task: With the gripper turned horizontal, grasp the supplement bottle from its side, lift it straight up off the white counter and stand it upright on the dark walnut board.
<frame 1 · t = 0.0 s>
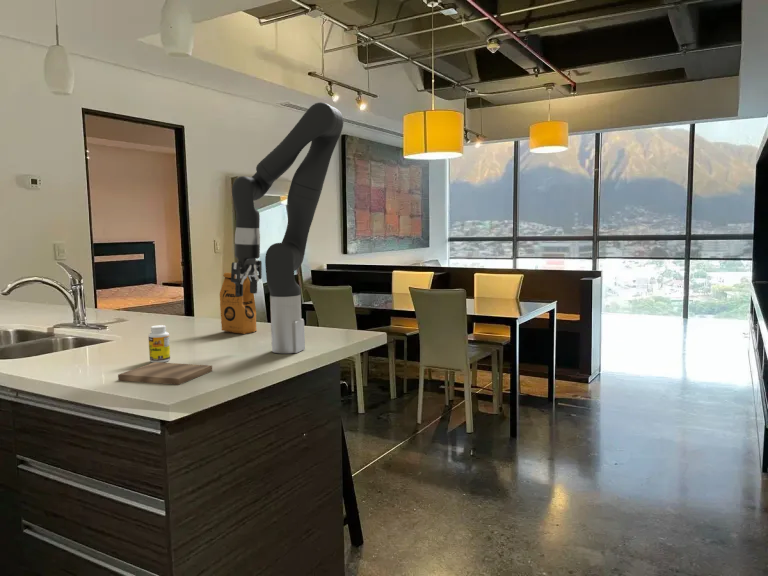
hand: (246, 294, 181), 17 cm above the worktop, fingers open, 8 cm apart
coffee package: (239, 332, 214), on the worktop
walnut board: (166, 375, 150), on the worktop
supplement bottle: (160, 361, 168), on the worktop
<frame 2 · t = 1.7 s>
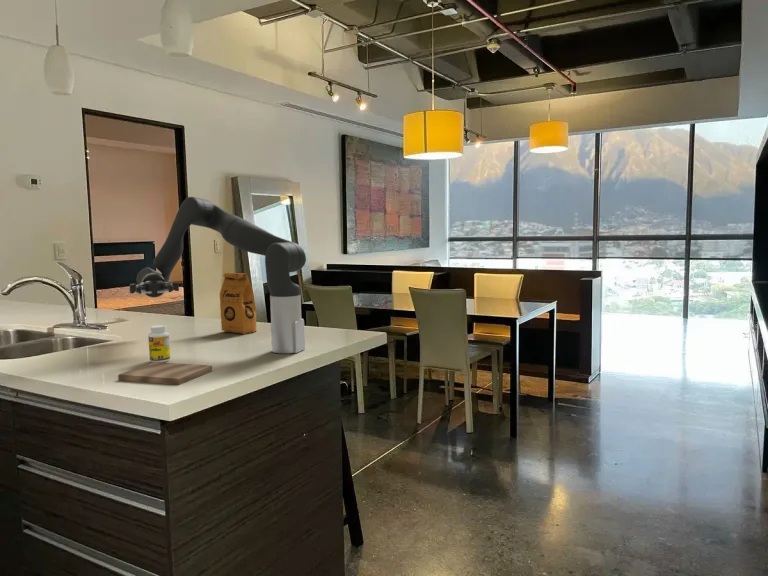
hand: (155, 289, 176), 20 cm above the worktop, fingers open, 8 cm apart
nothing on the worktop moved.
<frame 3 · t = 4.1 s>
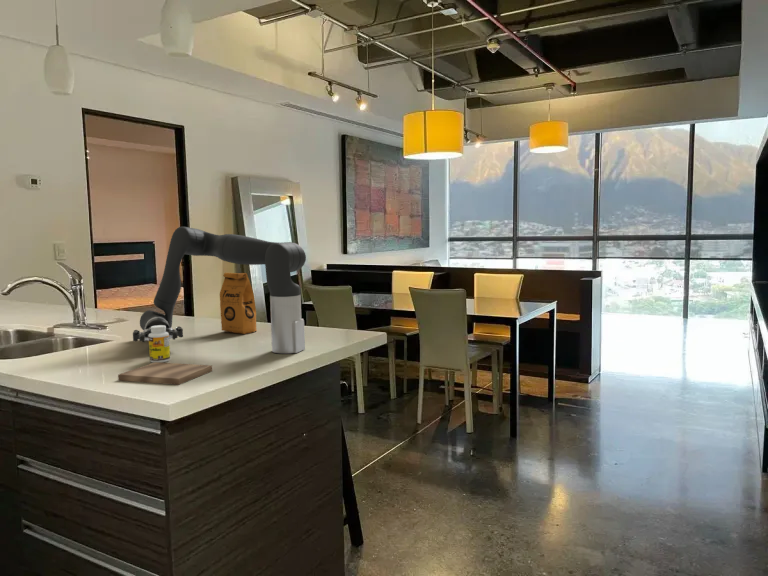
hand: (158, 337, 172), 6 cm above the worktop, fingers open, 8 cm apart
nothing on the worktop moved.
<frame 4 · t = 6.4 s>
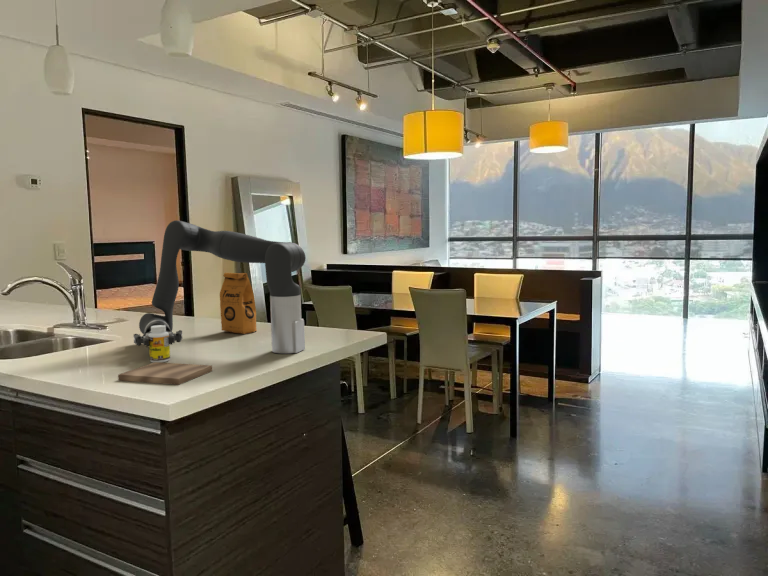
hand: (159, 342, 165), 6 cm above the worktop, fingers closed on supplement bottle, 5 cm apart
supplement bottle: (160, 361, 168), on the worktop, touching gripper
everything else where it was.
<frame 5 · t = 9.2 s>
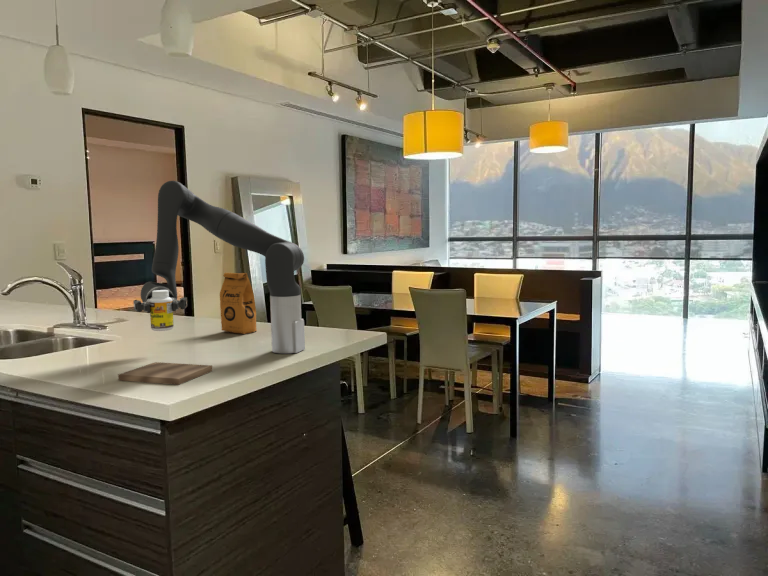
hand: (161, 307, 148), 18 cm above the worktop, fingers closed on supplement bottle, 5 cm apart
supplement bottle: (162, 330, 151), point 12 cm above the worktop, touching gripper
everything else where it was.
when the fingers open (9 cm above the worktop, at t = 12.0 s): supplement bottle drops 1 cm, resting on walnut board.
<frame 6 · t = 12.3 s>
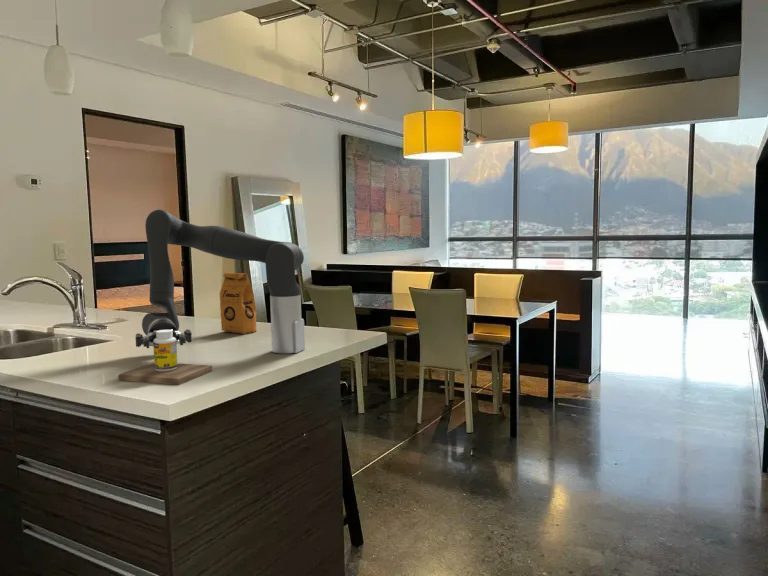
hand: (165, 342, 148), 9 cm above the worktop, fingers open, 7 cm apart
supplement bottle: (166, 370, 150), point 1 cm above the worktop, touching walnut board
everything else where it was.
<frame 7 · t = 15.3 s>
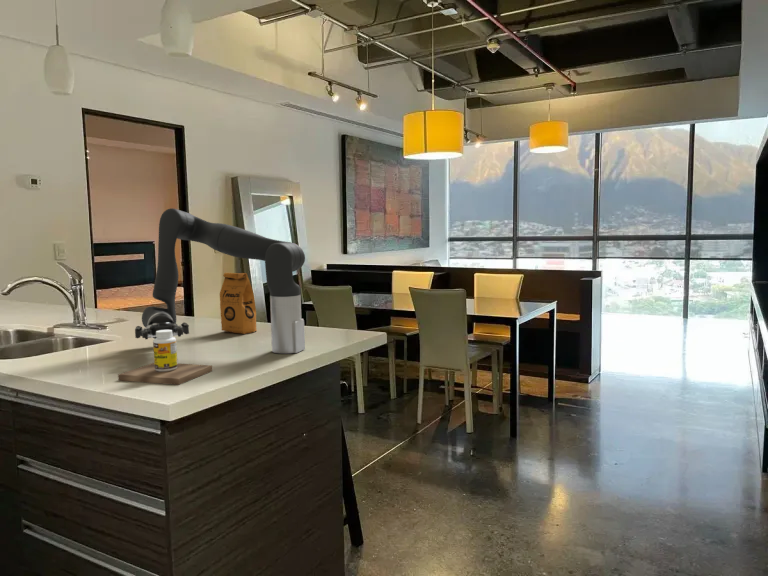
hand: (163, 334, 160), 9 cm above the worktop, fingers open, 8 cm apart
nothing on the worktop moved.
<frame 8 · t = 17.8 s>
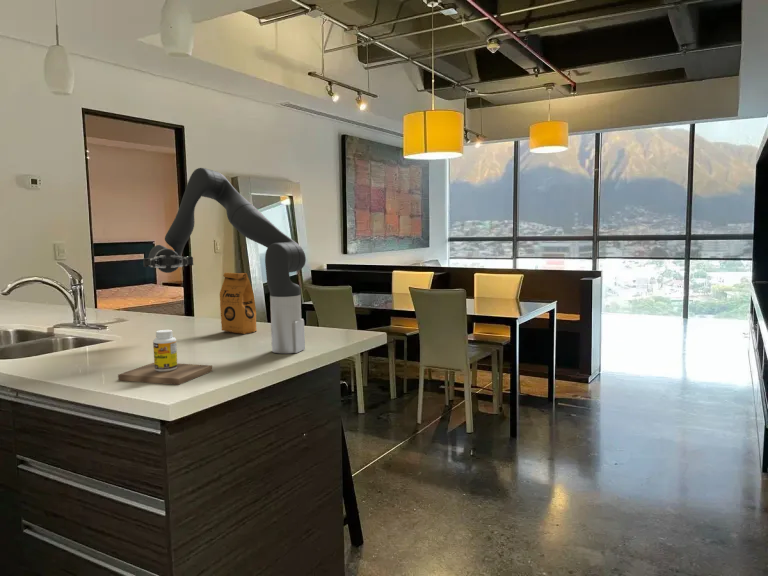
hand: (169, 262, 172), 28 cm above the worktop, fingers open, 8 cm apart
nothing on the worktop moved.
at the end: supplement bottle inside the target area on the walnut board (0.1 cm from its centre), point 1.3 cm above the walnut board's base; supplement bottle tilted 0°; the gripper is holding nothing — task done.
